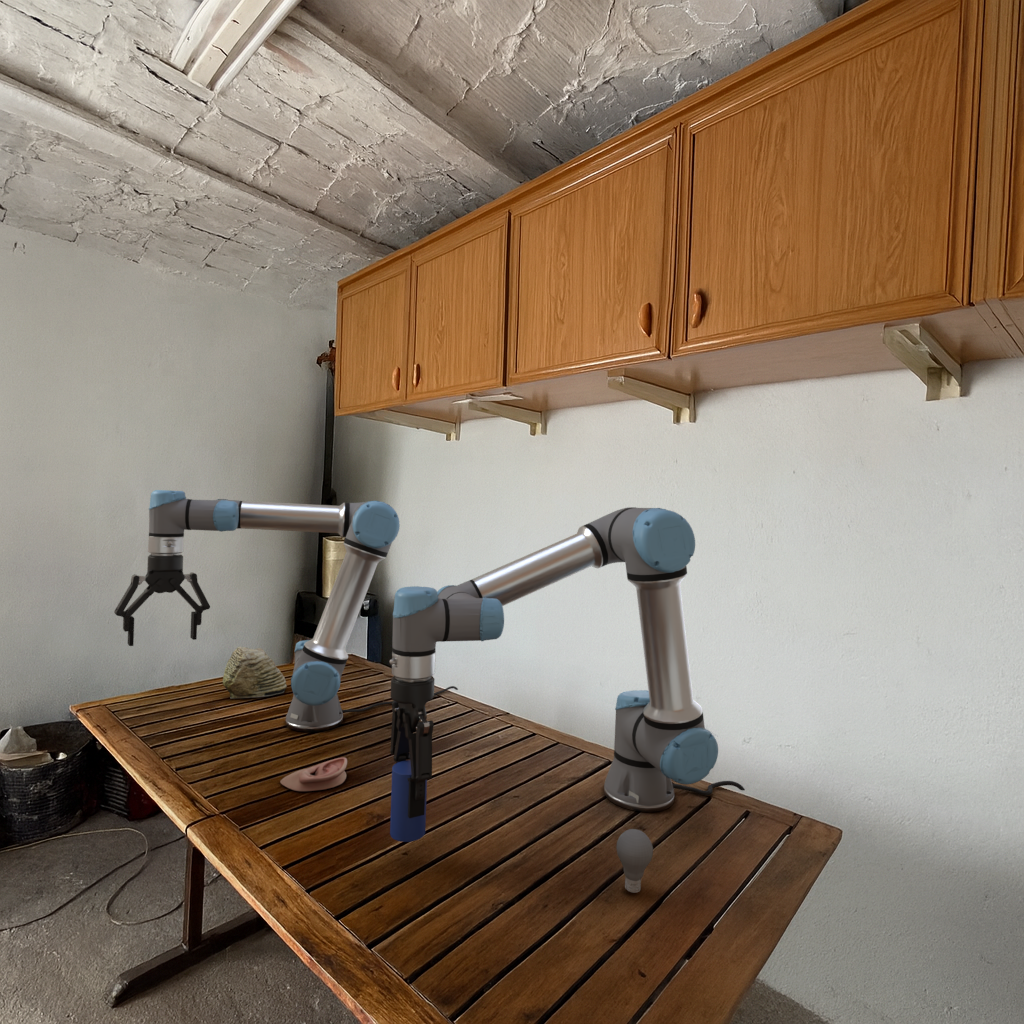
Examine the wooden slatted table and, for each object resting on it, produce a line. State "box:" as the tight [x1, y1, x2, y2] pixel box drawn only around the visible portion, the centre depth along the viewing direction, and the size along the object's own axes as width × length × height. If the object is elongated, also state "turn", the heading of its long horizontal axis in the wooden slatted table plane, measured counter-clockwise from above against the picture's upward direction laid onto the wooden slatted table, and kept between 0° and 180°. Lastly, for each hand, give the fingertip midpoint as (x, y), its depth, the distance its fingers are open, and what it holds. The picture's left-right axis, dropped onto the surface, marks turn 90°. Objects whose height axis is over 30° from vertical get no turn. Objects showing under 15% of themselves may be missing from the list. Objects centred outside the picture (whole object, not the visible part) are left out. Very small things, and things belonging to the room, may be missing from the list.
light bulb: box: [615, 828, 654, 894], centre depth 106 cm, size 6×6×10 cm
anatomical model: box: [279, 756, 348, 792], centre depth 141 cm, size 13×4×12 cm
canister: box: [389, 759, 428, 843], centre depth 111 cm, size 6×6×12 cm
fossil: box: [222, 646, 288, 699], centre depth 198 cm, size 9×18×15 cm, turn 132°
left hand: (162, 641), depth 153 cm, fingers open, 13 cm apart
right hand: (408, 806), depth 111 cm, fingers closed on canister, 6 cm apart
